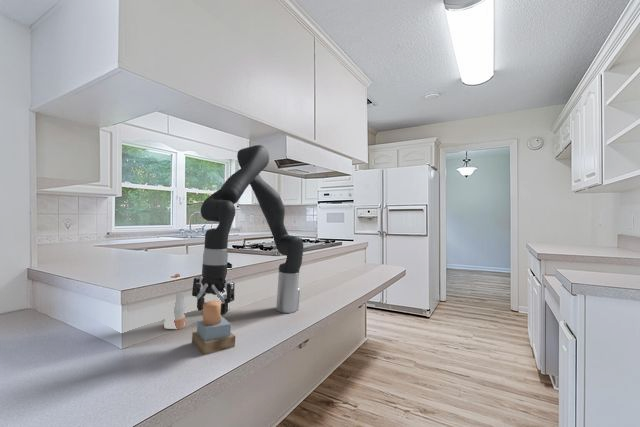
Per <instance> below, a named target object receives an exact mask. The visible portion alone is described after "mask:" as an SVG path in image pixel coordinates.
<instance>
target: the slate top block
mask: <svg viewBox="0 0 640 427" xmlns="http://www.w3.org/2000/svg"><path fill="white" fill-rule="evenodd" d="M231 325H232V323H230V322H229V321H228V320H227V319H226V318H224V317H223V315H221V322H220V323H219V324H217V325H204V324H203V318H201V319H197V324H196V331H197V333H198V334H199V335H200V336H201V338H202V339H203V340H204V341H209V340H214V339H219V338H224V337H229V336H230V332H231V327H232V326H231Z"/></svg>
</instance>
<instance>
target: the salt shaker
mask: <svg viewBox="0 0 640 427" xmlns="http://www.w3.org/2000/svg"><path fill="white" fill-rule="evenodd" d="M180 275H181V274H180V273H175V275H171V276H170V277H171V278H177V277H180ZM184 299H185V292H179V293H177V294H176V302H175V307H174V314H175V315H174V316H175V320H174V323H175V326H176V328H177V329H176V330H175V331H177V330H181V329H183V328H185V327H184V322H185V323H186V320H185V317H184V312H185V313H186V301H185V302H184Z"/></svg>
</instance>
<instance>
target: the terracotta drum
mask: <svg viewBox="0 0 640 427" xmlns="http://www.w3.org/2000/svg"><path fill="white" fill-rule="evenodd" d="M221 304H222V303H221V302H219V301H215V300H210V301H204V304H203V310H202V319H203V324H204V325H217V324H219V323H220V322H221V316H222V315H220V312H221Z"/></svg>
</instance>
